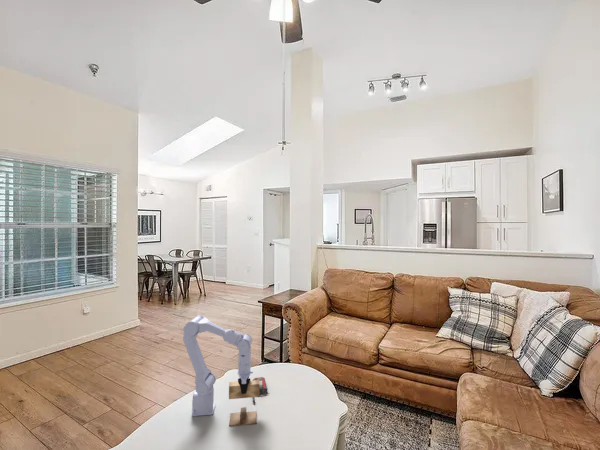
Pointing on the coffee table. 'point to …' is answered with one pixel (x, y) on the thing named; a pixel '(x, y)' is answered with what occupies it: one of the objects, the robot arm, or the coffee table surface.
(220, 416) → the coffee table surface
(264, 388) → the walkie-talkie
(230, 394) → the oak bar
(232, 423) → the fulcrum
